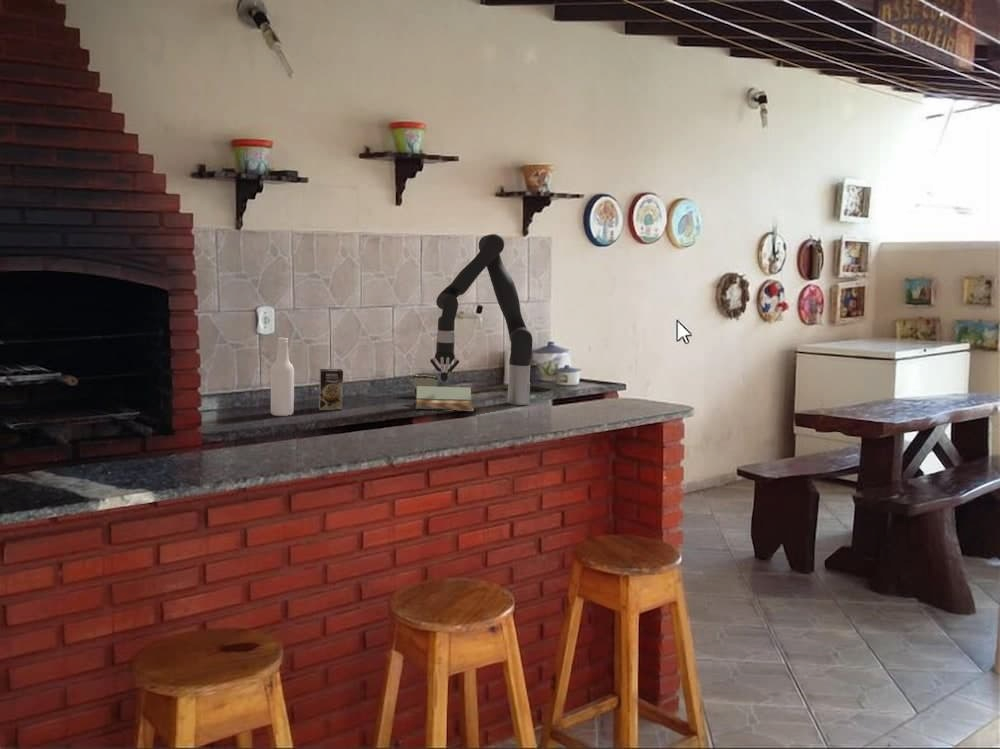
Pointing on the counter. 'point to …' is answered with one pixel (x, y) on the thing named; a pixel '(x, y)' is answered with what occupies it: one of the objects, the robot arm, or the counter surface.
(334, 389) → the coffee box
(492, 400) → the counter surface
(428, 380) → the food container
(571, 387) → the counter surface
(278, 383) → the alcohol
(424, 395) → the board
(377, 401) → the counter surface
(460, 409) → the floor frame
